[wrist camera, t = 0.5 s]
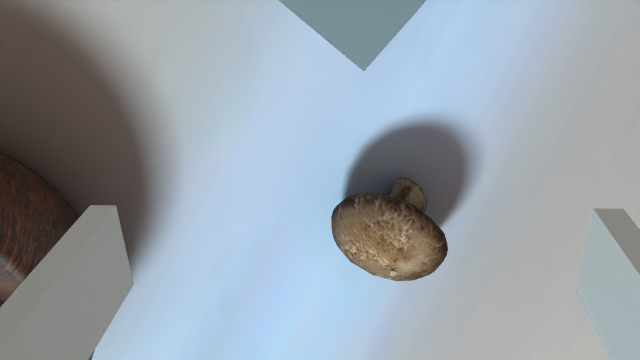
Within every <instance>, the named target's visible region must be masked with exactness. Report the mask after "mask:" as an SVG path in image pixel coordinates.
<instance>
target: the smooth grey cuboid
mask: <svg viewBox="0 0 640 360" xmlns="http://www.w3.org/2000/svg"><path fill="white" fill-rule="evenodd" d="M279 1H280V2H281V3H282V4H284V5H285V6H286V7H287V8H289V9H290V10H291V11H292V12H293V13H295V14H296V15H297V16H298V17H299V18H301V19H302V20H303V21H304V22H305V23H307V24H308V25H309V26H310V27H311V28H313V29H314V30H315V31H316V32H317V33H319V34H320V35H321V36H322V37H323V38H325V39H326V40H327V41H328V42H329V43H331V44H332V45H333V46H334V47H335V48H337V49H338V50H339V51H340V52H341V53H343V54H344V55H345V56H346V57H347V58H349V59H350V60H351V61H352V62H353V63H355V64H356V65H357V66H358V67H359V68H361V69H362V70H363V71H364V70H365V69H366V68H367V67H368V66H369V65H370V64H371V63H372V61H373V60H374V59H375V58H376V57H377V56H378V55H379V54H380V52H381V51H382V50H383V49H384V48H385V47H386V46H387V44H388V43H389V42H390V41H391V40H392V39H393V38H394V37H395V35H396V34H397V33H398V32H399V31H400V30H401V29H402V27H403V26H404V25H405V24H406V23H407V22H408V21H409V20H410V18H411V17H412V16H413V15H414V14H415V13H416V12H417V10H418V9H419V8H420V7H421V6H422V5H423V4H424V3H425V1H426V0H279Z"/></svg>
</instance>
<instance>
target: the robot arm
mask: <svg viewBox="0 0 640 360" xmlns="http://www.w3.org/2000/svg"><path fill="white" fill-rule="evenodd" d="M133 284H134V283H133V279H132V274H131V270H130V265H129V261H128V256H127V252H126V247H125V243H124V238H123V234H122V229H121V225H120V221H119V216H118V212H117V207H116V205H90V206H89V207H88V208H87V209H86V211H85V212H84V213H83V214H82V215H81V216H80V217H79V219H78V220H77V221H76V222H75V223H74V224H73V225H72V226H71V228H70V229H69V230H68V231H67V232H66V233H65V234H64V236H63V237H62V238H61V239H60V240H59V241H58V242H57V244H56V245H55V246H54V247H53V248H52V249H51V250H50V251H49V253H48V254H47V255H46V256H45V257H44V258H43V259H42V261H41V262H40V263H39V264H38V265H37V266H36V267H35V269H34V270H33V271H32V272H31V273H30V274H29V275H28V276H27V278H26V279H25V280H24V281H23V282H22V283H21V284H20V286H19V287H18V288H17V289H16V290H15V291H14V292H13V294H12V295H11V296H10V297H9V298H8V299H7V300H0V360H89V358H90V356H91V355H92V353H93V351H94V349H95V348H96V346H97V344H98V343H99V341H100V339H101V338H102V336H103V334H104V333H105V331H106V329H107V328H108V326H109V324H110V323H111V321H112V319H113V318H114V316H115V314H116V313H117V311H118V309H119V308H120V306H121V304H122V302H123V301H124V299H125V297H126V296H127V294H128V292H129V291H130V289H131V287H132V286H133ZM576 293H577V295H578V297H579V299H580V301H581V303H582V304H583V306H584V308H585V310H586V312H587V314H588V316H589V318H590V320H591V322H592V324H593V326H594V328H595V330H596V332H597V334H598V336H599V338H600V340H601V342H602V344H603V346H604V348H605V349H606V351H607V353H608V355H609V357H610V359H611V360H640V229H639V228H638V227H637V226H636V224H635V223H634V222H633V221H632V219H631V218H630V217H629V216H628V214H627V213H626V212H625V210H624V209H593V212H592V217H591V222H590V227H589V232H588V237H587V242H586V246H585V251H584V256H583V261H582V266H581V271H580V276H579V281H578V286H577V290H576Z"/></svg>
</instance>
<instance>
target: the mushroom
mask: <svg viewBox="0 0 640 360" xmlns="http://www.w3.org/2000/svg"><path fill="white" fill-rule="evenodd" d="M426 206H427V200H426V198H425V195H424V193H423V191H422V190H421V188H420V187H419V185H417V184H416V183H415V182H413V181H412V180H410V179H407V178H399V179H398V180H397V182H396V183H395V185H394V187H393V189H392V191H391V193H390V194H389V196H387V195H380V194H373V193H364V194H357V195H351V196H349V197H347V198H345V199H344V200H343V201H342V202H341V203H339V204H338V205H337V206H336V208H335V209H334V210H333V214H332V234H333V237H334V240H335V242H336V244H337V246H338V247H339V249H340V250H341V251H342V252H343V253H344V255H345V256H346V257H347V258H348V259H349V260H350V262H352V263H354V264H355V265H357V266H359V267H361V268H362V269H364V270H366V271H367V272H369V273H371V274H372V275H375V276H379V277H383V278H387V279H391V280H395V281H410V280H416V279H418V278H421V277H424V276H427V275H430V274H431V273H433V272H434V271H435V270H436V269H437V268H438V267H439V266H440V265H441V263H442V262H443V261H444V259H445V257H446V256H447V251H448V247H447V242H446V238H445V234H444V233H443V231H442V230H441V229H440V228H439V227H438V226H437V225H436V223H435V222H434V221H433V220H432V219H431V218H430V217H428V216H427V215H426V214H425V213H424V212H425V211H426Z"/></svg>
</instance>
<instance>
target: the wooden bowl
mask: <svg viewBox="0 0 640 360" xmlns="http://www.w3.org/2000/svg"><path fill="white" fill-rule="evenodd" d="M78 219H79V218H78V216H77V215H76V214H75V212H74V211H73V210H72V208H71V207H70V206H69V205H68V203H67V202H66V201H65V200H64V199H63V198H62V197H61V196H60V195H59V194H58V193H57V192H56V191H55V190H54V189H53V188H52V187H51V186H50V185H49V184H48V183H46V182H45V181H44V180H43V179H41V178H40V177H39V176H37V175H36V174H35V173H33V172H32V171H30V170H29V169H27V168H26V167H24V166H23V165H21V164H19V163H18V162H16V161H14V160H13V159H11V158H9V157H7V156H5V155H3V154H0V300H7V299H8V298H9V297H10V296H11V295H12V294H13V292H14V291H15V290H16V289H17V288H18V287H19V286H20V284H21V283H22V282H23V281H24V280H25V279H26V278H27V276H28V275H29V274H30V273H31V272H32V271H33V270H34V269H35V267H36V266H37V265H38V264H39V263H40V262H41V261H42V259H43V258H44V257H45V256H46V255H47V254H48V253H49V251H50V250H51V249H52V248H53V247H54V246H55V245H56V244H57V242H58V241H59V240H60V239H61V238H62V237H63V236H64V234H65V233H66V232H67V231H68V230H69V229H70V228H71V226H72V225H73V224H74V223H75V222H76V221H77V220H78ZM94 350H95V349H94ZM93 353H94V351H93ZM93 353H92V355H91V356H90V358H89V360H91V359H92V356H93Z"/></svg>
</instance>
